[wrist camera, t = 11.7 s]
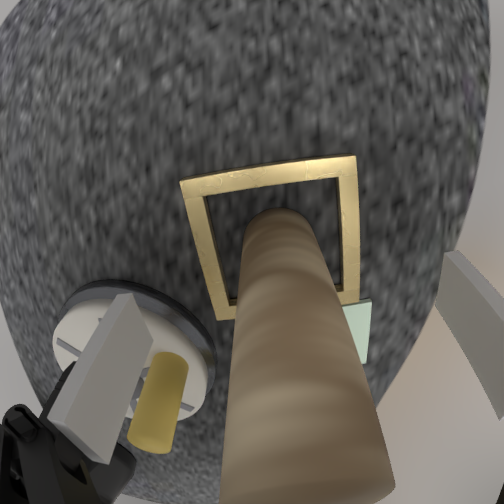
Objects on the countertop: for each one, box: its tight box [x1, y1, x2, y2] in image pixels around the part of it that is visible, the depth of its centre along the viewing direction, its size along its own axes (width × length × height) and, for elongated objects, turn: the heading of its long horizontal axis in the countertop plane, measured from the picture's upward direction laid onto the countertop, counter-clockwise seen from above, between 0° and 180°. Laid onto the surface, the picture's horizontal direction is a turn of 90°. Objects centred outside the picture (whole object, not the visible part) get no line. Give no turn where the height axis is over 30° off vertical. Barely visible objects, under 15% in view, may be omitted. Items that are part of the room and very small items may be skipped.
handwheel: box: [53, 299, 208, 454], centre depth 17 cm, size 12×12×8 cm
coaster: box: [342, 299, 372, 364], centre depth 21 cm, size 6×6×1 cm
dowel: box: [219, 208, 395, 504], centre depth 11 cm, size 4×4×14 cm
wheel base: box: [58, 280, 217, 396], centre depth 21 cm, size 13×13×1 cm
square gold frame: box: [179, 153, 360, 321], centre depth 17 cm, size 9×9×1 cm
